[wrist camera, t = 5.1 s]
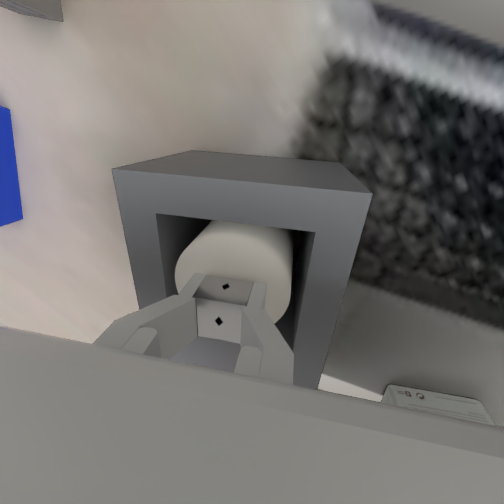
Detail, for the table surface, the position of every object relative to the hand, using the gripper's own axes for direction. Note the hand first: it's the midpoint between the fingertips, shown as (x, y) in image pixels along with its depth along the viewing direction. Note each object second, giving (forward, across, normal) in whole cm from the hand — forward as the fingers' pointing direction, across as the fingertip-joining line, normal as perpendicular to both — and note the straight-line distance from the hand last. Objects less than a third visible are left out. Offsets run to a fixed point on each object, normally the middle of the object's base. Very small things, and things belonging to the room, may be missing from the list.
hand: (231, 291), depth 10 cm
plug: (+7, 0, 0) cm, 7 cm away
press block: (+8, 0, +6) cm, 9 cm away
